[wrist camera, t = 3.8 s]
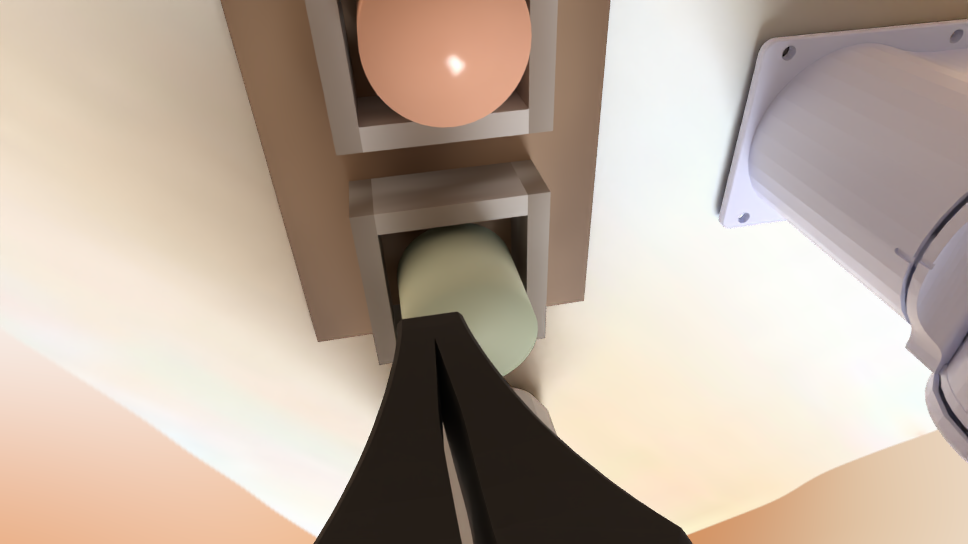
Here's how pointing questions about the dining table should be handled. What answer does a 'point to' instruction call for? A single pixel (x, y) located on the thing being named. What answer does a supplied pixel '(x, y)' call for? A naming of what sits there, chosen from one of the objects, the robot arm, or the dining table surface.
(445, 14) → the terracotta button
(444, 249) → the sage button
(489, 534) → the robot arm
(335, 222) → the button board
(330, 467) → the dining table surface
